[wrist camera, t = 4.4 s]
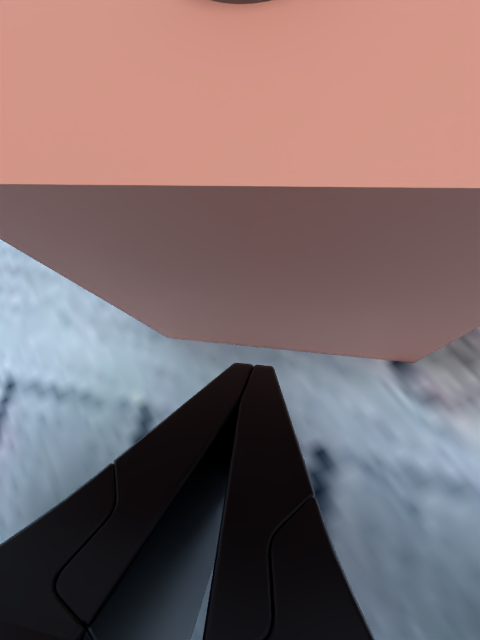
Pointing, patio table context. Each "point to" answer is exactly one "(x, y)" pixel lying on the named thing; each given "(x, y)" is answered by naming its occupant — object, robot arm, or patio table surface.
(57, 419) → the patio table surface
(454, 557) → the patio table surface
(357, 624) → the robot arm
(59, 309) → the patio table surface
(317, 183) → the pink toy brick
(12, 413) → the patio table surface
